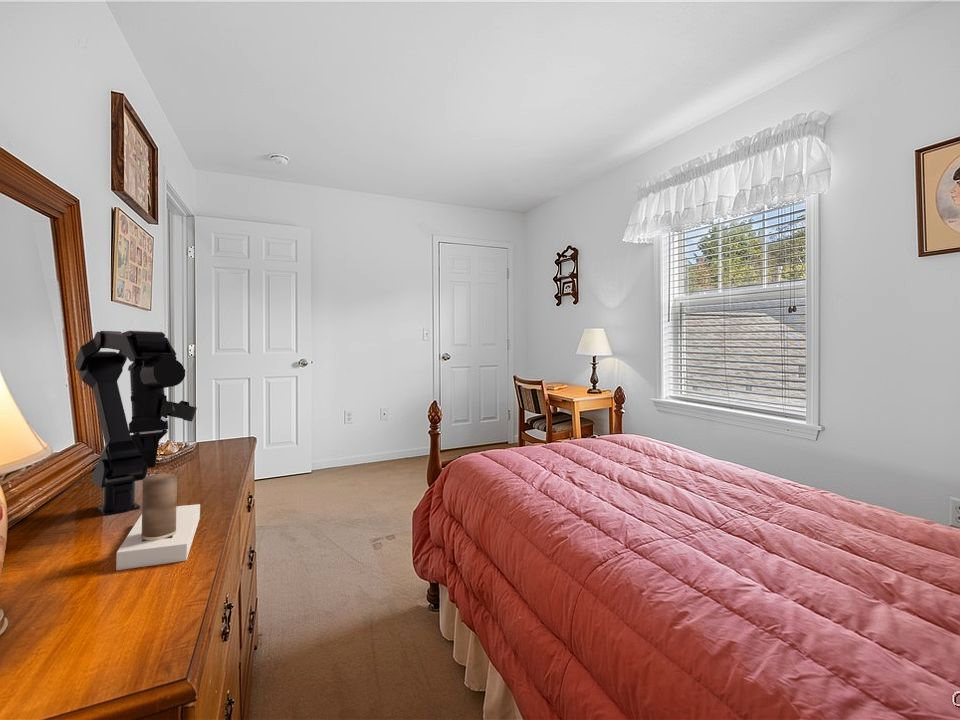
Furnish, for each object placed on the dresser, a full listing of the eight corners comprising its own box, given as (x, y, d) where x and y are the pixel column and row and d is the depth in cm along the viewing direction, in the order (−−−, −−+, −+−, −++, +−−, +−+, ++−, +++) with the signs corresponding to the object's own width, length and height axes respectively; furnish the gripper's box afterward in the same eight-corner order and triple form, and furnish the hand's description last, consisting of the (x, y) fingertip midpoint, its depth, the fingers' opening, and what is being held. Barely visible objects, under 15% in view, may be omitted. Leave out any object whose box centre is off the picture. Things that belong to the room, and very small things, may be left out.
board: (144, 523, 98) (144, 509, 98) (199, 517, 103) (200, 504, 102) (116, 570, 78) (116, 552, 78) (186, 560, 83) (186, 543, 83)
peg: (134, 550, 85) (135, 479, 84) (164, 540, 89) (165, 472, 89) (153, 556, 83) (154, 483, 82) (182, 545, 87) (184, 476, 87)
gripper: (195, 385, 95) (200, 462, 94) (190, 389, 110) (194, 456, 109) (126, 389, 89) (130, 472, 88) (131, 393, 104) (135, 464, 103)
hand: (151, 465), depth 97 cm, fingers open, 9 cm apart
